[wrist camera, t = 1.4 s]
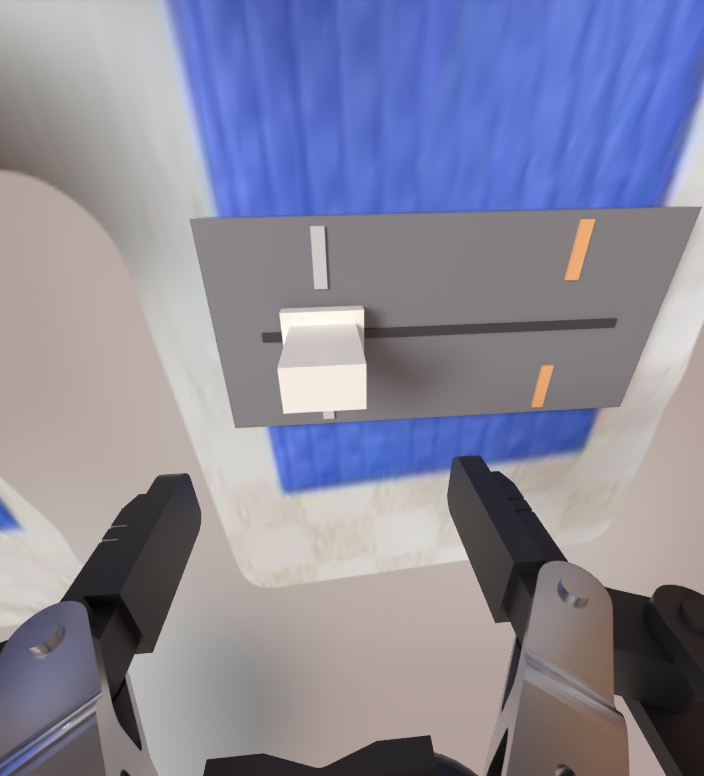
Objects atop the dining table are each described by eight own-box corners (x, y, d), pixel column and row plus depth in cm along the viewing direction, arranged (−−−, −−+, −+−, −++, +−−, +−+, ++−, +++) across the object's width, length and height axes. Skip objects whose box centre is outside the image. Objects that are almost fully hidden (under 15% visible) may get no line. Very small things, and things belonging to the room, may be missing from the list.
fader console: (206, 217, 22) (188, 219, 19) (659, 206, 23) (705, 206, 20) (243, 407, 28) (234, 429, 25) (593, 388, 30) (621, 407, 27)
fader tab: (281, 308, 21) (263, 352, 15) (362, 305, 21) (377, 346, 15) (288, 367, 23) (275, 428, 17) (362, 364, 23) (376, 422, 17)
